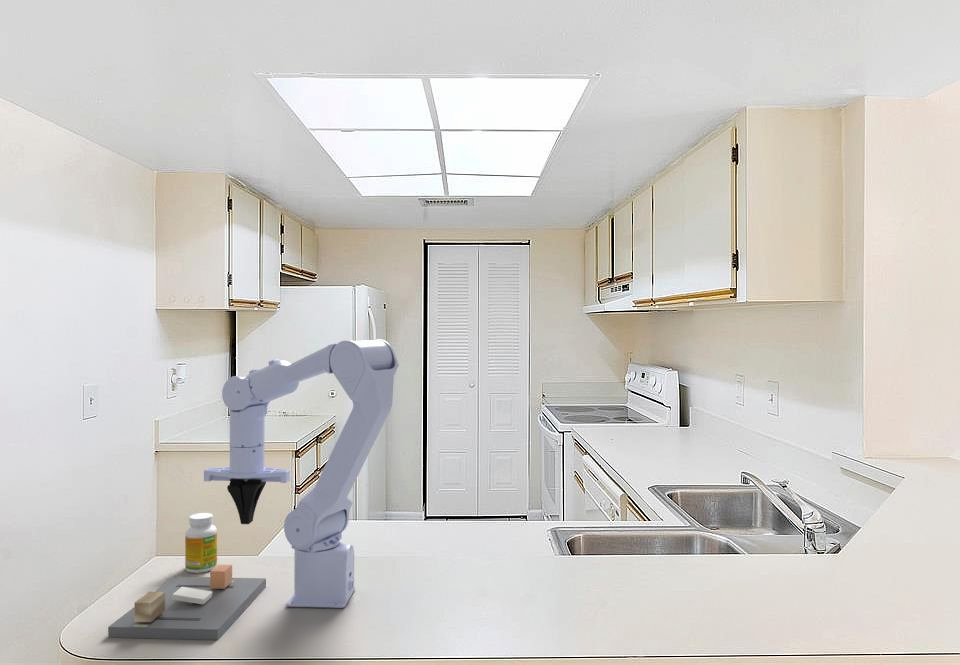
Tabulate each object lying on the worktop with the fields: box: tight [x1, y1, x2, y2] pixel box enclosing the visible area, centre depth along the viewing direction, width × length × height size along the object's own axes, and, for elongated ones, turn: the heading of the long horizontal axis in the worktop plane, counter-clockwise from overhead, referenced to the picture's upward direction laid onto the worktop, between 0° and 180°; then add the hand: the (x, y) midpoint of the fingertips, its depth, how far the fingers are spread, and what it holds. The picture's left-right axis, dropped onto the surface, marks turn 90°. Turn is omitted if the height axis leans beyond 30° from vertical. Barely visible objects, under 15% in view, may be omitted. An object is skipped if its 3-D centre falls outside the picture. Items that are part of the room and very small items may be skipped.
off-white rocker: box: [172, 587, 212, 604], centre depth 104 cm, size 5×3×1 cm, turn 88°
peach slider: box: [209, 564, 233, 589], centre depth 110 cm, size 2×3×3 cm
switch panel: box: [107, 575, 267, 641], centre depth 105 cm, size 16×19×2 cm
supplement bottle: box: [184, 512, 218, 574], centre depth 122 cm, size 5×5×10 cm
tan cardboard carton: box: [134, 591, 165, 622], centre depth 98 cm, size 2×4×3 cm, turn 178°
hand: (246, 522), depth 116 cm, fingers closed
